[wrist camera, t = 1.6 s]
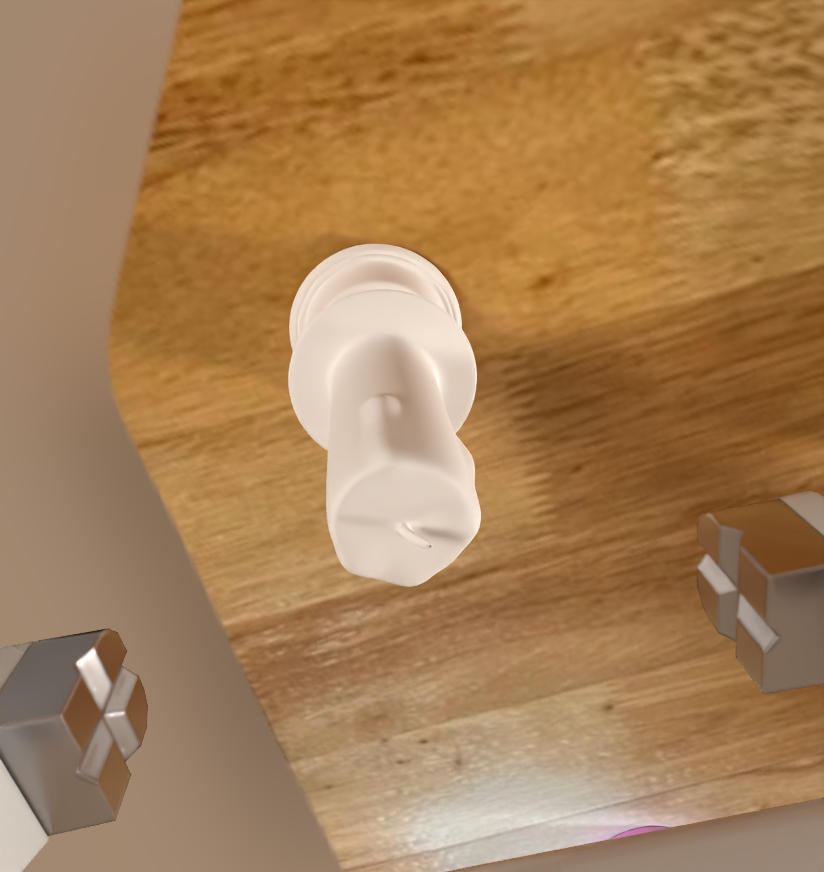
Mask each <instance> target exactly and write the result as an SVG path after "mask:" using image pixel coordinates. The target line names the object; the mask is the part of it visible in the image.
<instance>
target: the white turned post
mask: <svg viewBox="0 0 824 872" xmlns="http://www.w3.org/2000/svg"><path fill="white" fill-rule="evenodd" d="M289 334H290V342H291V347H292V351H293V353H292V357H291V361H290V366H289V376H288V383H289V393H290V398H291V402H292V405H293V408H294V411H295V413H296V415H297V417H298V419H299V421H300V423H301V424H302V426H303V427H304V429H305V430H306V431H307V433H308V434H309V435H310V436H311V437H312V438H313V439H314V440H315V441H316V442H317V443H318V444H319V445H320V446H321V447H323V448H324V449H325V450H327V451H328V460H327V482H326V511H327V522H328V528H329V532H330V536H331V539H332V541H333V544H334V547H335V550H336V554H337V556H338V559H339V561H340V563H341V564H342V566H343V567H344V568H345V569H346V570H347V571H349V572H350V573H352V574H355V575H358V576H362V577H367V578H372V579H377V580H382V581H385V582H389V583H392V584H396V585H400V586H407V587H410V586H416V585H419V584H421V583H423V582H425V581H426V580H428V579H429V578H431V577H432V576H433V575H435V574H436V573H438V572H439V571H441V570H442V569H444V568H445V567H447V566H448V565H449V564H450V563H452V562H453V561H454V560H455V559H456V558H457V556H458V555H459V554H460V553H461V552H462V551H463V550H464V549H465V547H466V546H467V545H468V544H469V543H470V542H471V541H472V539H473V538H474V537H475V535H476V534H477V532H478V529H479V527H480V522H481V510H480V505H479V501H478V497H477V493H476V490H475V483H474V482H475V467H474V461H473V458H472V456H471V454H470V452H469V451H468V449H467V448H466V447H465V445H464V444H463V443H462V442H461V441H460V440H459V438H458V437H457V436H456V432H457V431H458V430H459V429H460V427H461V426H462V424H463V423H464V421H465V419H466V417H467V416H468V414H469V411H470V409H471V406H472V403H473V400H474V396H475V391H476V383H477V371H476V363H475V358H474V354H473V351H472V348H471V345H470V343H469V341H468V339H467V337H466V335H465V333H464V332H463V330H462V321H461V313H460V309H459V305H458V302H457V299H456V296H455V294H454V292H453V290H452V288H451V286H450V284H449V283H448V281H447V280H446V278H445V277H444V276H443V275H442V273H441V272H440V271H439V270H438V269H437V268H436V267H435V266H434V265H432V264H431V263H430V262H429V261H427V260H426V259H425V258H423V257H421V256H420V255H418V254H416V253H414V252H412V251H410V250H407V249H404V248H401V247H398V246H394V245H388V244H363V245H358V246H353V247H350V248H347V249H344V250H342V251H339V252H337V253H335V254H333V255H331V256H330V257H328V258H327V259H325V260H324V261H322V262H321V263H320V264H319V265H318V266H316V267H315V268H314V269H313V270H312V271H311V273H310V274H309V275H308V276H307V277H306V279H305V280H304V282H303V283H302V285H301V286H300V288H299V290H298V292H297V294H296V296H295V299H294V302H293V305H292V309H291V314H290V322H289Z"/></svg>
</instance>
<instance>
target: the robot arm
mask: <svg viewBox="0 0 824 872" xmlns="http://www.w3.org/2000/svg"><path fill="white" fill-rule="evenodd" d="M697 541H698V542H699V543H700V545H701V546H702V547H703V548H704V549H705V551H706V552H707V553H706V554H705V556H704V557H703V559H702V560H701V561H700V563H699V564H698V566H697V587H698V591H699V595H700V598H701V602H702V606H703V608H704V610H705V612H706V614H707V616H708V618H709V620H710V622H711V623H712V625H713V626H714V627H715V629H716V630H717V632H718V633H719V634H721V635H723V636H725V637H728V638H730V639H732V640H734V641H736V658H737V659H738V660H739V662H740V663H741V665H742V666H743V667H744V669H745V670H746V671H747V673H748V674H749V675H750V677H751V678H752V679H753V681H754V682H755V683H756V685H757V686H758V687H759V689H760V690H761V691H762V693H763V694H768V693H774V692H780V691H786V690H792V689H798V688H804V687H810V686H816V685H822V684H824V496H823V495H821V494H820V493H818V492H814V491H810V490H808V491H803V492H799V493H794V494H790V495H785V496H781V497H777V498H773V499H772V500H767V501H762V502H758V503H753V504H748V505H743V506H738V507H733V508H728V509H724V510H719V511H714V512H709V513H704V514H700V517H699V520H698V523H697ZM126 653H127V650H126V648H125V646H124V644H123V642H122V640H121V638H120V636H119V634H118V632H116V631H113V630H111V629H102V630H97V631H91V632H85V633H79V634H73V635H68V636H62V637H56V638H50V639H44V640H39V641H37V642H28V643H23V644H18V645H12V646H7V647H3V648H1V649H0V872H22V871H23V870H24V868H25V867H26V866H27V865H28V864H29V863H30V861H31V860H32V859H33V858H34V857H35V855H36V854H37V853H38V852H39V851H40V849H41V848H42V847H43V846H44V845H45V844H46V842H47V841H48V840H49V838H48V836H50V835H54V834H58V833H63V832H67V831H72V830H76V829H81V828H85V827H90V826H94V825H99V824H103V823H107V822H112V821H115V820H116V817H117V815H118V812H119V809H120V806H121V803H122V800H123V797H124V794H125V791H126V788H127V785H128V783H129V780H130V777H131V773H130V771H129V769H128V767H127V765H126V763H125V762H126V761H127V760H128V759H129V758H130V757H131V756H132V754H133V753H134V752H135V751H136V750H137V749H138V748H139V747H140V746H141V744H142V741H143V738H144V735H145V731H146V728H147V711H148V705H147V700H146V695H145V690H144V687H143V685H142V683H141V680H140V678H139V676H138V675H137V674H135V673H134V672H132V671H130V670H129V669H127V668H125V667H124V666H122V663H123V660H124V658H125V655H126ZM446 872H824V798H820V799H815V800H810V801H805V802H800V803H794V804H789V805H784V806H779V807H774V808H769V809H764V810H759V811H753V812H748V813H743V814H738V815H733V816H728V817H723V818H718V819H712V820H707V821H702V822H697V823H692V824H687V825H682V826H677V827H671V828H666V829H661V830H656V831H651V832H646V833H641V834H636V835H630V836H625V837H620V838H615V839H610V840H605V841H600V842H595V843H589V844H584V845H579V846H574V847H569V848H564V849H559V850H554V851H548V852H543V853H538V854H533V855H528V856H523V857H518V858H513V859H508V860H503V861H497V862H492V863H487V864H482V865H477V866H472V867H467V868H462V869H457V870H452V871H446Z"/></svg>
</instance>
